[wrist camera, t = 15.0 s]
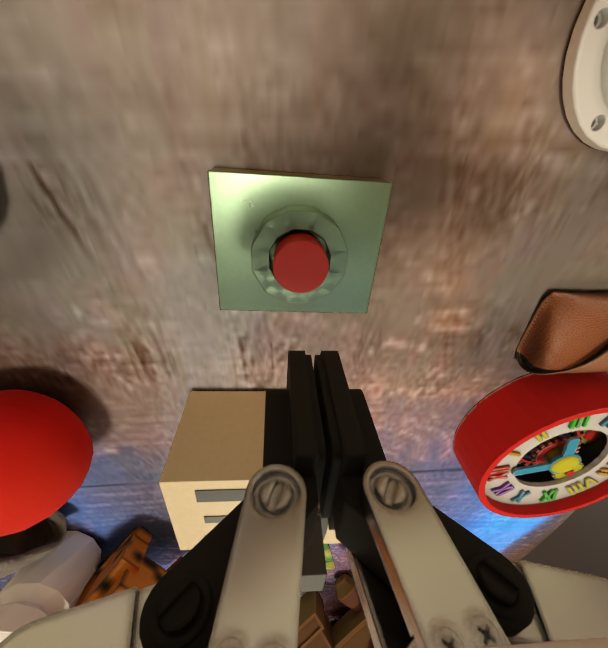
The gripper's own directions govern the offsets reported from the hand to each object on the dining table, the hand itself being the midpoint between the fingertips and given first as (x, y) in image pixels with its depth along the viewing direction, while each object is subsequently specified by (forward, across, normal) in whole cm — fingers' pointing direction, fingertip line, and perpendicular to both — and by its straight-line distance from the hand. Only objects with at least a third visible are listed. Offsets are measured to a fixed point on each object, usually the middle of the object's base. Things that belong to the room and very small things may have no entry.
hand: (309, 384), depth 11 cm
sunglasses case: (+16, -32, +6) cm, 37 cm away
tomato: (+16, +25, +19) cm, 35 cm away
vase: (+15, +30, +47) cm, 58 cm away
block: (+16, 0, 0) cm, 16 cm away
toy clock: (+16, -32, +22) cm, 41 cm away
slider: (+6, -2, +21) cm, 22 cm away
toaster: (+16, +2, +21) cm, 26 cm away
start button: (+12, 0, 0) cm, 12 cm away
